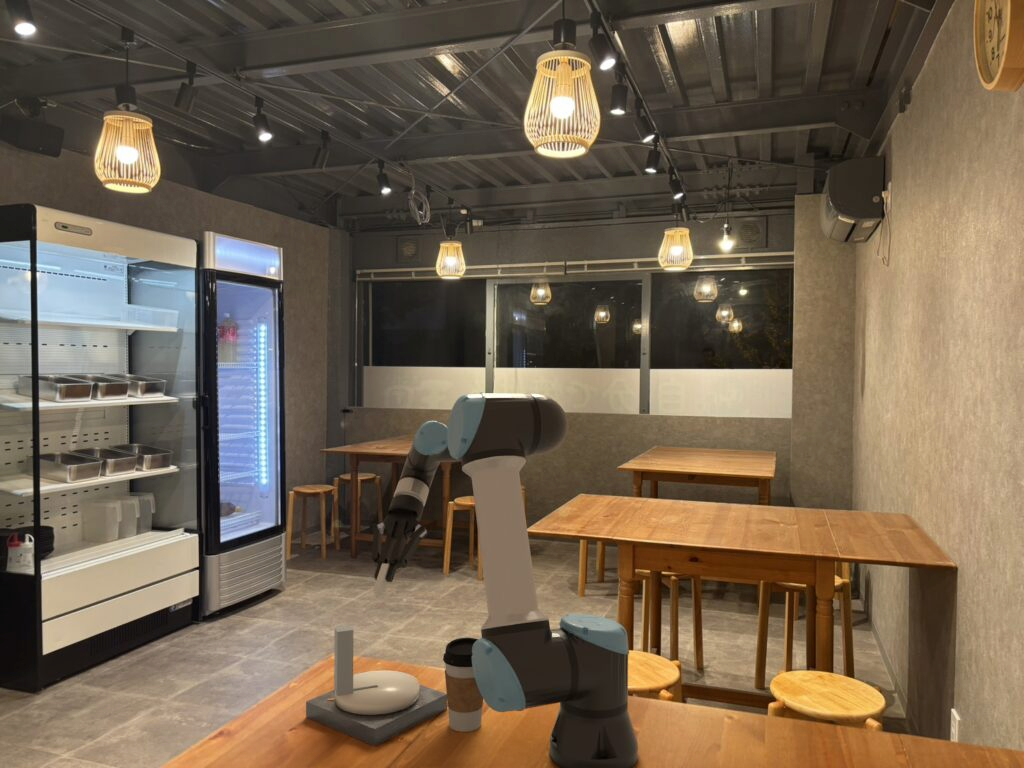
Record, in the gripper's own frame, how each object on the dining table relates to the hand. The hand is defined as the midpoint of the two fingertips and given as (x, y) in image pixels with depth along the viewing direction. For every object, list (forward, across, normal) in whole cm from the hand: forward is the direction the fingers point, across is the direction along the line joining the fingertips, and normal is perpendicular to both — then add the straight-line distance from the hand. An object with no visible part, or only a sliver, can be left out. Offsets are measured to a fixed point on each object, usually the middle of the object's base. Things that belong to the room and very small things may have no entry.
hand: (378, 593), depth 159 cm
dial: (+20, -5, -4) cm, 21 cm away
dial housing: (+22, -5, -6) cm, 23 cm away
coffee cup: (+22, -23, -6) cm, 32 cm away
